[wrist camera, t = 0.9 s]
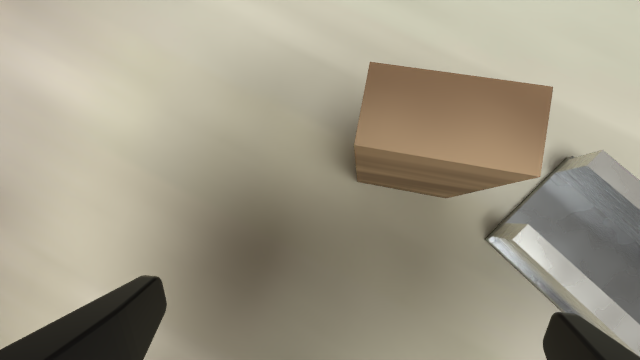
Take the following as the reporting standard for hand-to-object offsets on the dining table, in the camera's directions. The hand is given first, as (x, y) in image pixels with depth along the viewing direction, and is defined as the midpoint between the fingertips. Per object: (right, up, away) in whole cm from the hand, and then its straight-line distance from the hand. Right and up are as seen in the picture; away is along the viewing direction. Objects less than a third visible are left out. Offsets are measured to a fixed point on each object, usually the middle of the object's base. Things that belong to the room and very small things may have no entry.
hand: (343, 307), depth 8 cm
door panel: (+5, +4, +15) cm, 17 cm away
